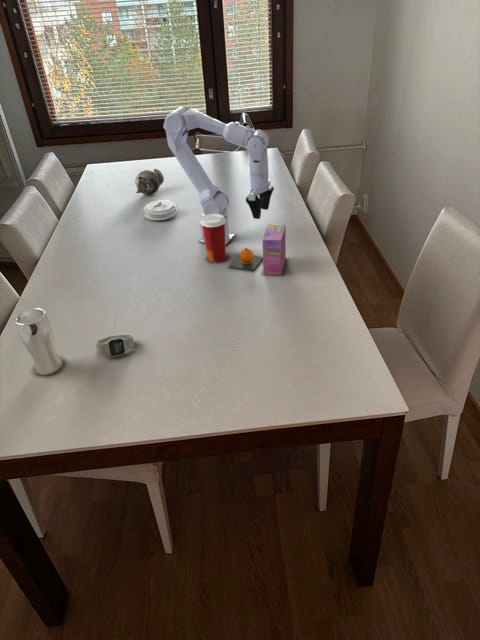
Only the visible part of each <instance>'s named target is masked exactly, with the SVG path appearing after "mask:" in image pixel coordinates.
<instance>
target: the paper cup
mask: <svg viewBox="0 0 480 640" xmlns="http://www.w3.org/2000/svg"><path fill="white" fill-rule="evenodd" d="M225 222H226V220H225V219H224V217H223V216H222V215H220V214H209V215H206V216H204V217H203V218H202V221H201V222H200V221H199V224H200V223H201V225H202V227H203V232H204V238H205V249H206V253H207V258H208V261H209V262H211V263H222V262H223V261H225V260H226V245H225Z"/></svg>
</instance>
